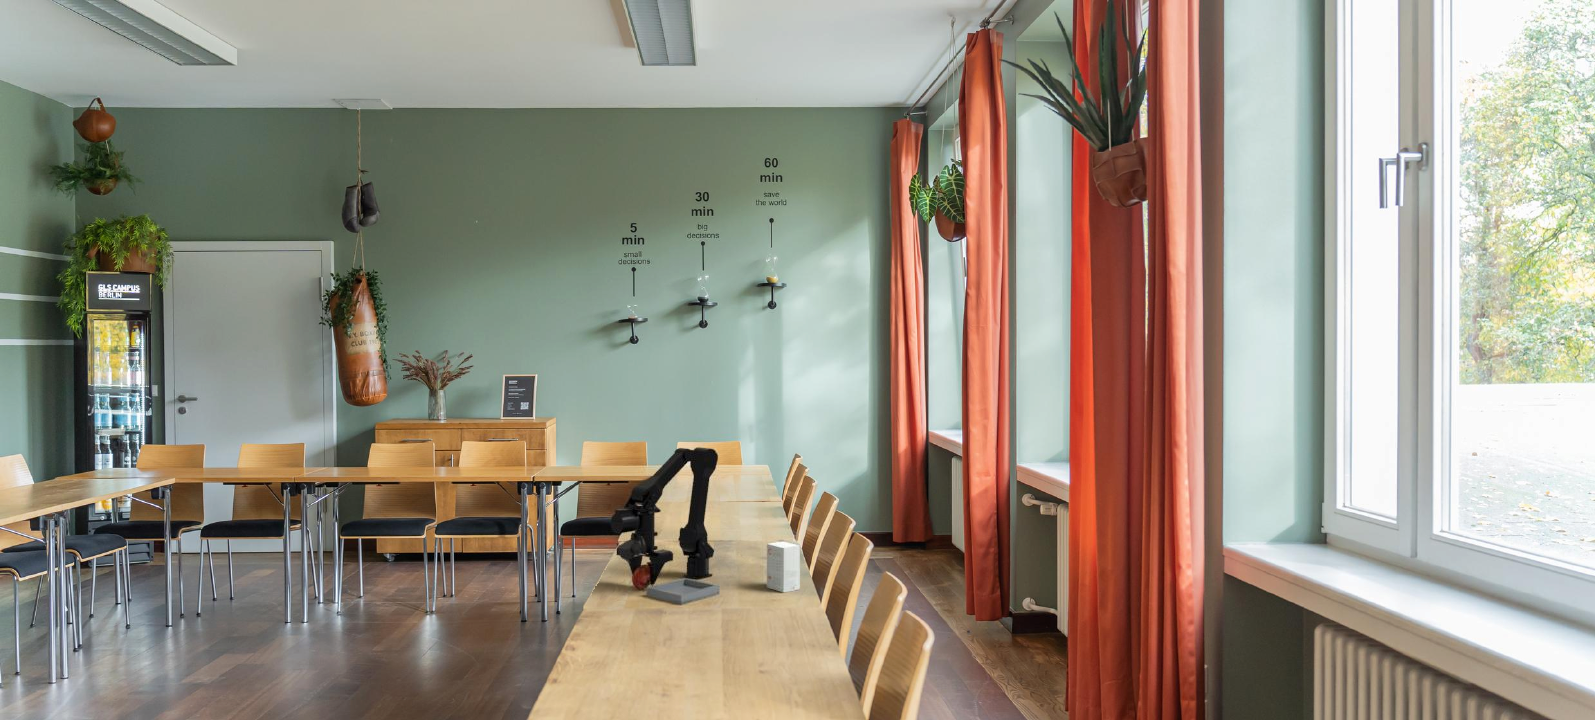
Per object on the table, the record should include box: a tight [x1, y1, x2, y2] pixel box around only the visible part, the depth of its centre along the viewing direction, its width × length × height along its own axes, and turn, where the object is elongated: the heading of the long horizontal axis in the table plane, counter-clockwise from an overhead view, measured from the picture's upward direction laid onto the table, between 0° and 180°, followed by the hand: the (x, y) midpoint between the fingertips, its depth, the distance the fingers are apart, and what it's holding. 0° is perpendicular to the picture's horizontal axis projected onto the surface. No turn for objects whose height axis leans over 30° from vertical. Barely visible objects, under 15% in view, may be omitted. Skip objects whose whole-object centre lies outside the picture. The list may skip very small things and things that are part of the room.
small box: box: [766, 541, 801, 593], centre depth 275 cm, size 8×6×13 cm
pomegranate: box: [631, 563, 654, 591], centre depth 274 cm, size 7×7×10 cm
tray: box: [646, 577, 720, 605], centre depth 267 cm, size 15×14×2 cm
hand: (644, 582), depth 274 cm, fingers closed on pomegranate, 7 cm apart
